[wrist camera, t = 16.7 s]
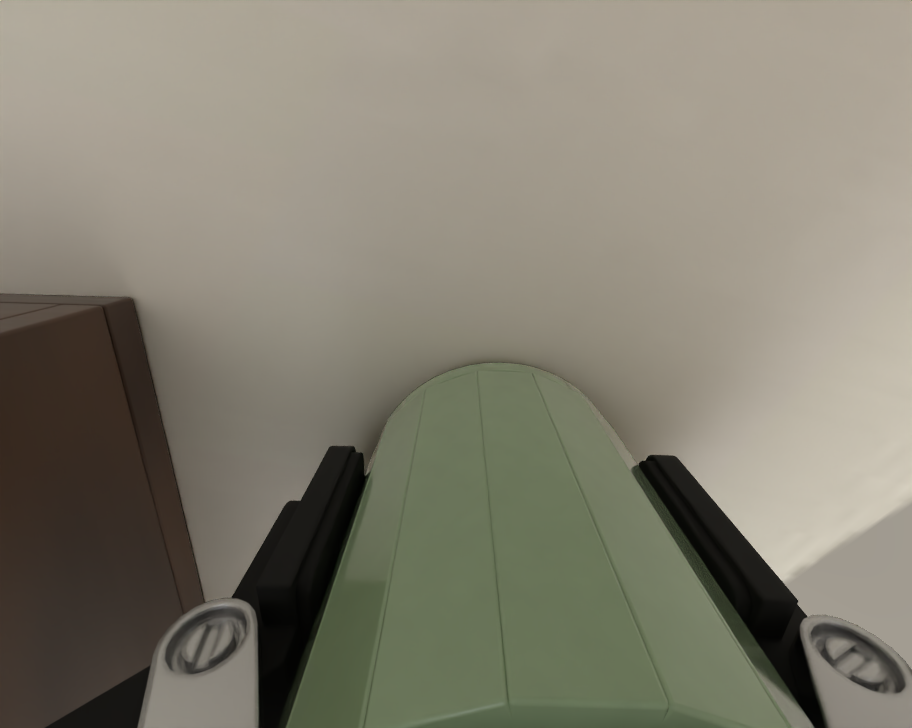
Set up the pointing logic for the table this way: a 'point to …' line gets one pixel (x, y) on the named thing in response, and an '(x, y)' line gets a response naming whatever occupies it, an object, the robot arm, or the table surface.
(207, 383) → the table surface
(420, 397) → the cup
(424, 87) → the table surface
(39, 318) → the chest
